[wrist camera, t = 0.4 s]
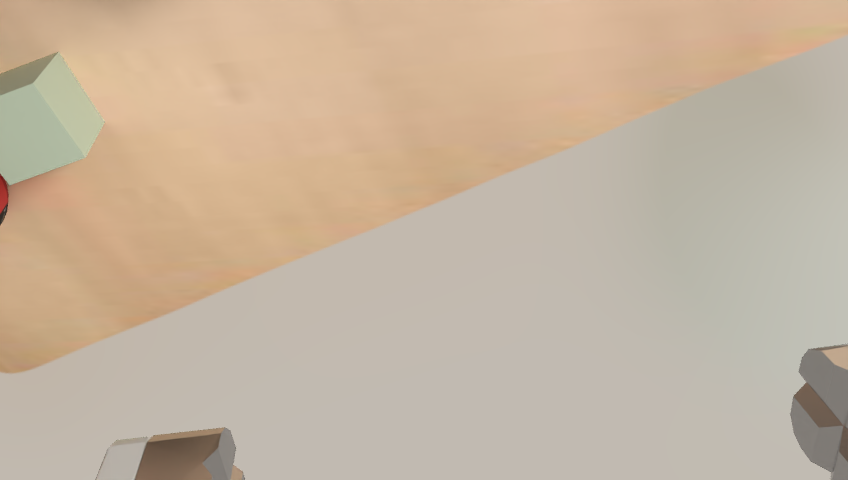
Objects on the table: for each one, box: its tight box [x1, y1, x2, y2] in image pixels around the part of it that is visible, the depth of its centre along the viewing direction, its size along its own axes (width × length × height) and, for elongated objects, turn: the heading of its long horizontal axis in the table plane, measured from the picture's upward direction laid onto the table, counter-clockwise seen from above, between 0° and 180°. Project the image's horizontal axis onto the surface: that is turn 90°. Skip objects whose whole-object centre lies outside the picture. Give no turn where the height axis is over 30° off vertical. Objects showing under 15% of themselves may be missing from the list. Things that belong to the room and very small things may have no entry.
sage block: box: [0, 52, 105, 185], centre depth 43 cm, size 5×5×5 cm
